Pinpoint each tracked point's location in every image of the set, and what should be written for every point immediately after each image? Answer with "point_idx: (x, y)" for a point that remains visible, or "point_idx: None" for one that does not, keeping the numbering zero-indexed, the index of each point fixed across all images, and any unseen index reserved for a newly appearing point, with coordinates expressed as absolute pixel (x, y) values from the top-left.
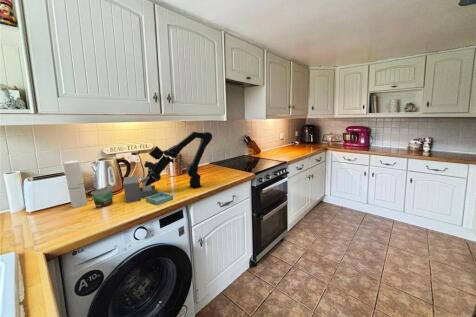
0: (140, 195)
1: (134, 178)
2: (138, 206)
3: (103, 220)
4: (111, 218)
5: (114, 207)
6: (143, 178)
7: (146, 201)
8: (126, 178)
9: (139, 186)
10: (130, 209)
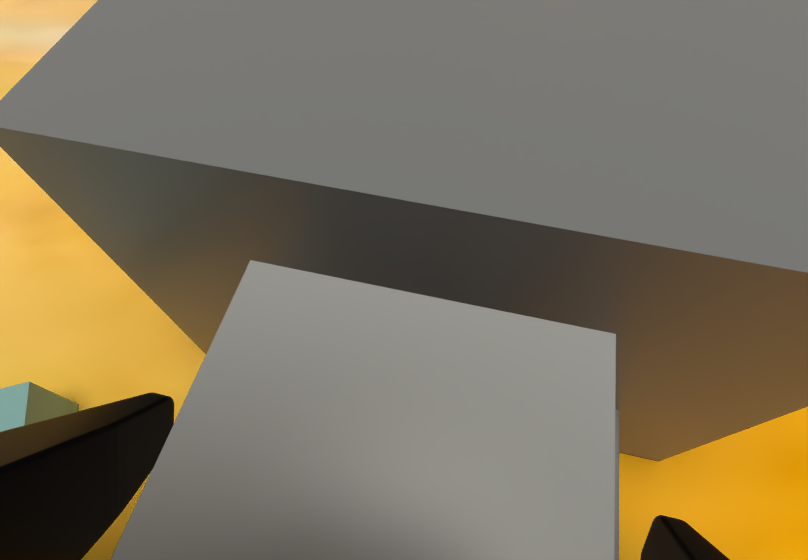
0: (178, 322)
1: (607, 130)
2: (23, 271)
3: (42, 22)
4: (14, 57)
5: None
6: (361, 374)
7: (75, 403)
8: (745, 2)
9: (69, 215)
10: (35, 190)
